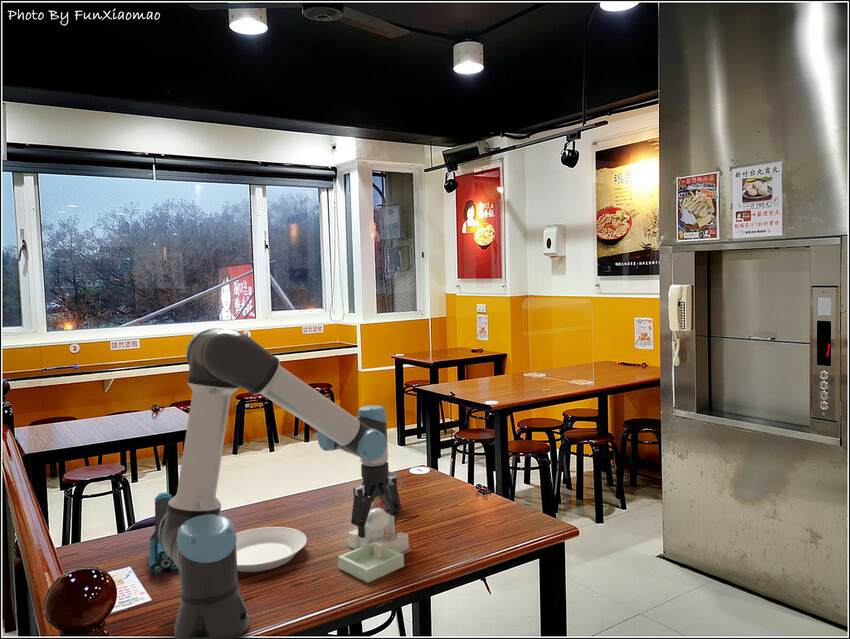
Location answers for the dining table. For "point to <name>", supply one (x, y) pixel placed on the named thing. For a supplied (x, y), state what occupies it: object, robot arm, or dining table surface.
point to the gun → (157, 554)
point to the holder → (381, 542)
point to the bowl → (267, 547)
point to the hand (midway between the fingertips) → (378, 542)
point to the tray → (370, 562)
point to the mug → (378, 500)
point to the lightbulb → (377, 523)
